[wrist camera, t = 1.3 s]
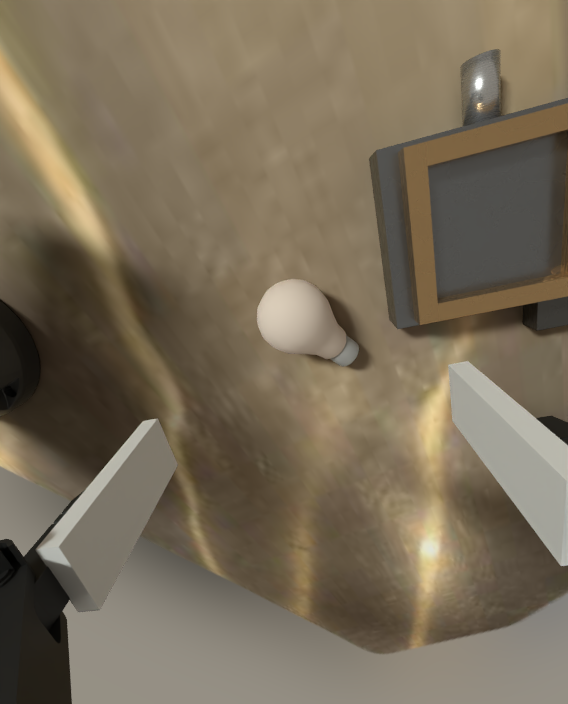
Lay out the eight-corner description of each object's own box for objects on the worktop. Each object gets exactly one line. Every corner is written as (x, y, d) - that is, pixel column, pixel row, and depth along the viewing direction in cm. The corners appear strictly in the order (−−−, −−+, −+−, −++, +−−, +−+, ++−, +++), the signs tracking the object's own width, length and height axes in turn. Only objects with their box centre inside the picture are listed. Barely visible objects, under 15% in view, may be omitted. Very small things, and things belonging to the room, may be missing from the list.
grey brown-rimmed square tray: (393, 348, 33) (405, 366, 28) (361, 101, 26) (372, 76, 21) (569, 315, 30) (611, 329, 26) (588, 33, 23) (650, -9, 19)
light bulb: (388, 360, 28) (291, 288, 23) (334, 400, 31) (238, 344, 27) (371, 316, 33) (288, 250, 28) (325, 355, 36) (244, 301, 32)
